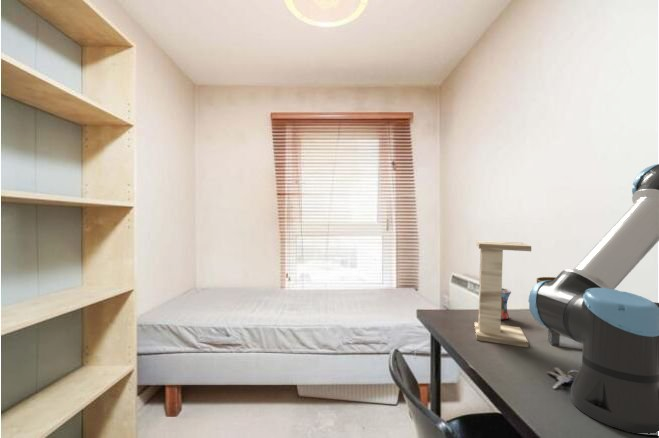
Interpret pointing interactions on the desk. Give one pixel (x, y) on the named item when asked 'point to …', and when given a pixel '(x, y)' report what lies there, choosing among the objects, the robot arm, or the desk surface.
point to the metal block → (562, 340)
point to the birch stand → (495, 295)
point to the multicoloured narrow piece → (504, 303)
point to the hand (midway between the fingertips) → (632, 311)
